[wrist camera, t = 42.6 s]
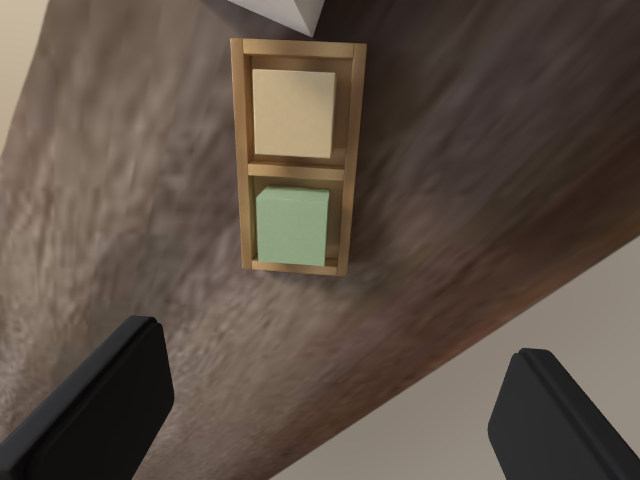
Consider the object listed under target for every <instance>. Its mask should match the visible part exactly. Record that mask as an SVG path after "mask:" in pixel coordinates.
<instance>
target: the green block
mask: <svg viewBox="0 0 640 480" xmlns="http://www.w3.org/2000/svg"><path fill="white" fill-rule="evenodd" d="M256 201H257V233H258V261H259V262H273V263H286V264H300V265H314V266H324V265H325V258H326V250H327V237H328V220H329V203H330V189H325V188H309V187H293V186H277V185H268V186H267V187H266V188H265V189H264V190H263V191H262V192H261V193H260V194H259V195H258V196H257V197H256Z"/></svg>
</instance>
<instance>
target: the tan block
mask: <svg viewBox="0 0 640 480" xmlns="http://www.w3.org/2000/svg"><path fill="white" fill-rule="evenodd" d="M336 86H337V77H336V74H335V73H327V72H305V71H284V70H262V69H253V97H254V130H255V154H262V155H279V156H296V157H314V158H331V155H332V151H333V137H334V120H335V103H336Z"/></svg>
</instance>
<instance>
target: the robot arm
mask: <svg viewBox="0 0 640 480" xmlns="http://www.w3.org/2000/svg"><path fill="white" fill-rule="evenodd" d="M173 403H174V389H173V384H172V378H171V372H170V367H169V361H168V355H167V349H166V344H165V338H164V332H163V327H162V325H161V324H160V323H157V320H156V319H155V318H154V317H146V316H130V317H129V318H127V319H126V320H125V321H124V322H123V323H122V324H121V325H120V326H119V327H118V328H117V329H116V330H115V331H114V332H113V333H112V334H111V335H110V336H109V337H108V338H107V339H106V340H105V341H104V342H103V343H102V344H101V345H100V346H99V347H98V348H97V349H96V350H95V351H94V352H93V353H92V354H91V355H90V356H89V357H88V358H87V359H86V360H85V361H84V362H83V363H82V364H81V365H80V366H79V367H78V368H77V369H76V370H75V371H74V372H73V373H72V374H71V375H70V376H69V377H68V378H67V379H66V380H65V381H64V382H63V383H62V384H61V385H60V386H59V387H58V388H57V389H56V390H55V391H54V392H52V393H51V394H50V395H49V396H48V397H47V398H46V399H45V400H44V401H43V402H42V403H41V404H40V405H39V406H38V407H37V408H36V409H35V410H34V411H33V412H32V413H31V414H30V415H29V416H28V417H27V418H26V419H25V420H24V421H23V422H22V423H21V424H20V425H19V426H18V427H17V428H16V429H15V430H14V431H13V432H12V433H11V434H10V435H9V436H8V437H7V438H6V439H5V440H4V441H3V442H2V443H1V444H0V480H131V479H132V478H133V476H134V474H135V472H136V470H137V469H138V467H139V465H140V463H141V462H142V460H143V458H144V456H145V455H146V453H147V451H148V449H149V448H150V446H151V444H152V442H153V441H154V439H155V437H156V435H157V434H158V432H159V430H160V428H161V427H162V425H163V423H164V421H165V419H166V418H167V416H168V414H169V412H170V411H171V409H172V406H173ZM488 436H489V440H490V442H491V445H492V447H493V449H494V452H495V454H496V456H497V459H498V461H499V463H500V466H501V468H502V470H503V473H504V475H505V477H506V480H640V459H639V458H638V456H637V455H636V454H635V453H634V451H633V450H632V449H631V448H630V447H629V445H628V444H627V443H626V442H625V441H624V440H623V438H622V437H621V436H620V435H619V433H618V432H617V431H616V430H615V428H614V427H613V426H612V425H611V424H610V422H609V421H608V420H607V419H606V418H605V416H604V415H603V414H602V413H601V412H600V410H599V409H598V408H597V407H596V406H595V404H594V403H593V402H592V401H591V400H590V398H589V397H588V396H587V395H586V394H585V392H584V391H583V390H582V389H581V388H580V386H579V385H578V384H577V383H576V382H575V380H574V379H573V378H572V377H571V376H570V374H569V373H568V372H567V371H566V369H565V368H564V367H563V366H562V365H561V363H560V362H559V361H558V360H557V359H556V357H555V356H554V355H553V354H552V353H551V352H550V351H548V350H542V349H530V348H522V349H521V350H520V351H519V352H518V353H515V354H514V355H513V356H512V358H511V361H510V364H509V367H508V370H507V372H506V375H505V378H504V381H503V384H502V386H501V389H500V392H499V395H498V398H497V401H496V404H495V406H494V409H493V412H492V415H491V418H490V421H489V423H488Z"/></svg>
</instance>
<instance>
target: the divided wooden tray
mask: <svg viewBox="0 0 640 480" xmlns="http://www.w3.org/2000/svg"><path fill="white" fill-rule="evenodd" d="M230 41H231V60H232V79H233V98H234V117H235V136H236V154H237V173H238V192H239V211H240V230H241V249H242V268H243V269H255V270H268V271H281V272H295V273H308V274H321V275H335V276H336V275H337V276H347V269H348V257H349V246H350V235H351V223H352V212H353V201H354V189H355V178H356V167H357V155H358V144H359V133H360V122H361V110H362V99H363V88H364V76H365V65H366V54H367V44H363V43H340V42H316V41H291V40H266V39H240V38H231V39H230ZM253 69H262V70H284V71H305V72H327V73H335V74H336V77H337V86H336V103H335V120H334V137H333V151H332V155H331V158H314V157H296V156H279V155H262V154H255V130H254V97H253ZM268 185H277V186H293V187H309V188H325V189H330V203H329V220H328V237H327V250H326V258H325V265H324V266H314V265H300V264H286V263H273V262H259V261H258V233H257V201H256V197H257V196H258V195H259V194H260V193H261V192H262V191H263V190H264V189H265V188H266V187H267V186H268Z"/></svg>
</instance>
